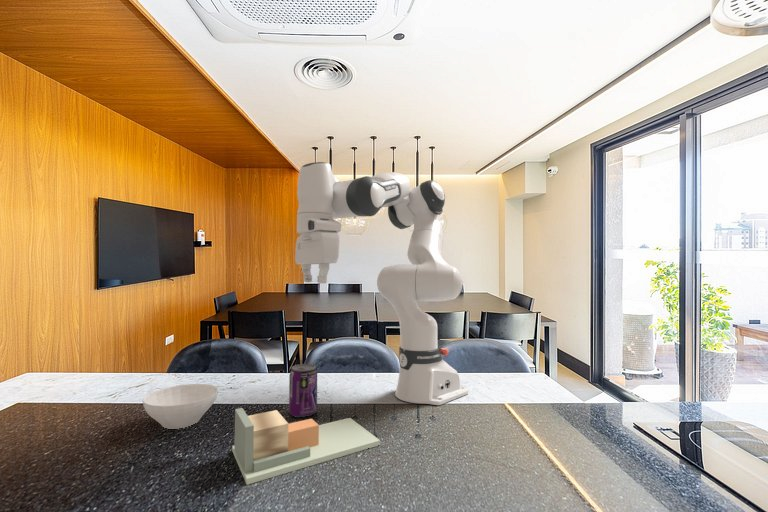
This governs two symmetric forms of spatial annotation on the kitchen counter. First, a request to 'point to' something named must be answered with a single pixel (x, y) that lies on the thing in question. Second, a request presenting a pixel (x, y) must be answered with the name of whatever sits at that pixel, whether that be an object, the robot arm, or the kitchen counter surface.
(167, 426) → the bowl
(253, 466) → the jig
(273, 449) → the block
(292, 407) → the beverage can
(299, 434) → the rectangular bar
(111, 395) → the kitchen counter surface
